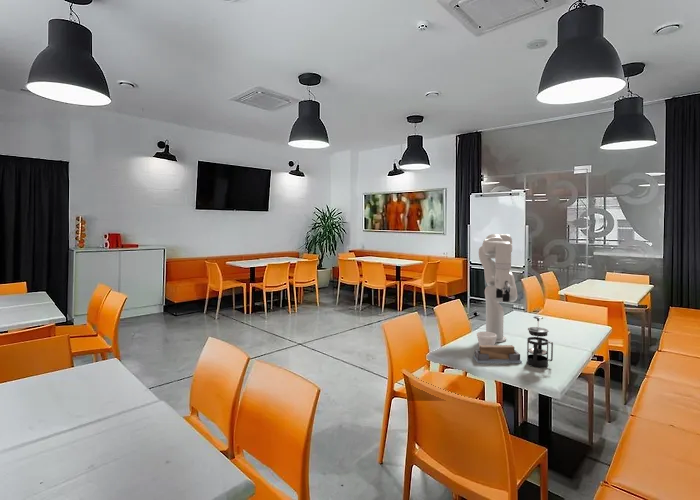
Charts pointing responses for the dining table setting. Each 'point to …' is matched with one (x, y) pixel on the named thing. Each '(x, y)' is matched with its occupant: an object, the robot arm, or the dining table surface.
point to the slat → (497, 351)
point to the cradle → (485, 359)
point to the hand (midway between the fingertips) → (502, 299)
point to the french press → (538, 347)
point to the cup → (486, 338)
